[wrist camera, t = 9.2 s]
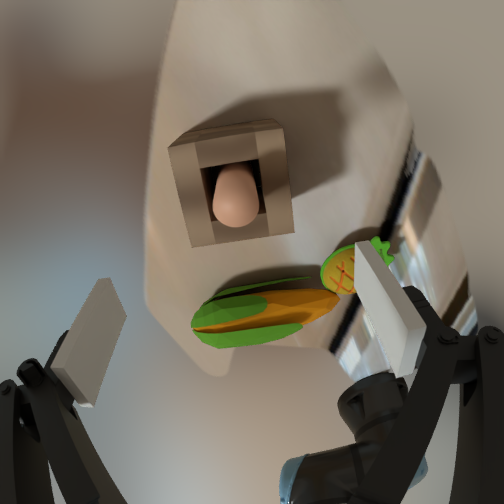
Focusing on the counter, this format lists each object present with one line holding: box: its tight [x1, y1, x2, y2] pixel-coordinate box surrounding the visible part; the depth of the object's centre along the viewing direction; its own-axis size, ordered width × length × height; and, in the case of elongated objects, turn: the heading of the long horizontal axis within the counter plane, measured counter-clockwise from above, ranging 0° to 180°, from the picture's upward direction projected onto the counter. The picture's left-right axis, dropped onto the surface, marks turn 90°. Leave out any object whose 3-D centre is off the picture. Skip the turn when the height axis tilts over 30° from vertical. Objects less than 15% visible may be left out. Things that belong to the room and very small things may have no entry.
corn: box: [191, 277, 340, 349], centre depth 41 cm, size 7×8×20 cm
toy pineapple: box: [320, 236, 394, 294], centre depth 39 cm, size 7×10×5 cm
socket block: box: [168, 119, 295, 248], centre depth 32 cm, size 10×10×8 cm
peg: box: [213, 160, 259, 227], centre depth 30 cm, size 4×4×12 cm
